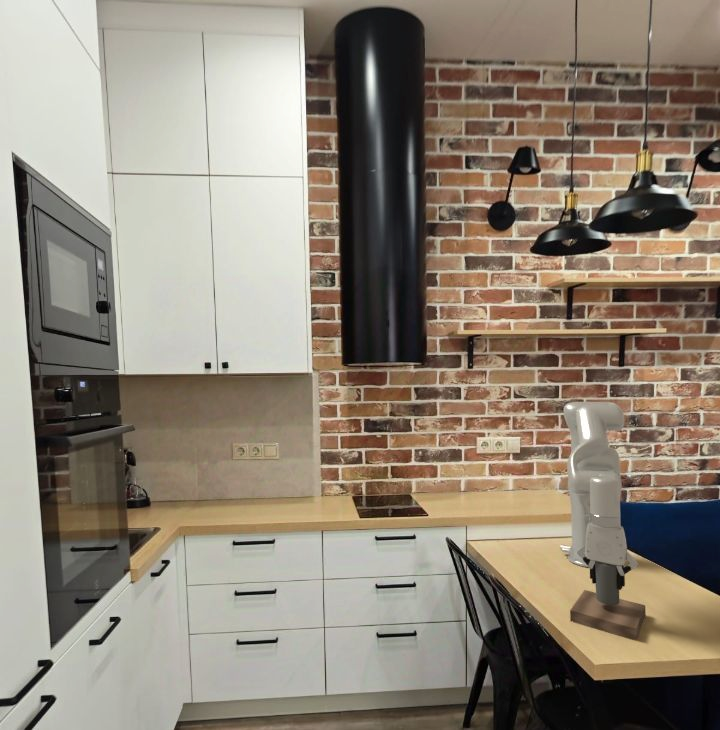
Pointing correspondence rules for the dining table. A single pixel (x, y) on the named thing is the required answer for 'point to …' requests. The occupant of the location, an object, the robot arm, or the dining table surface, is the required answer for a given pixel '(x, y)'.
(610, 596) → the bottle
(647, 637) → the dining table surface
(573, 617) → the base
